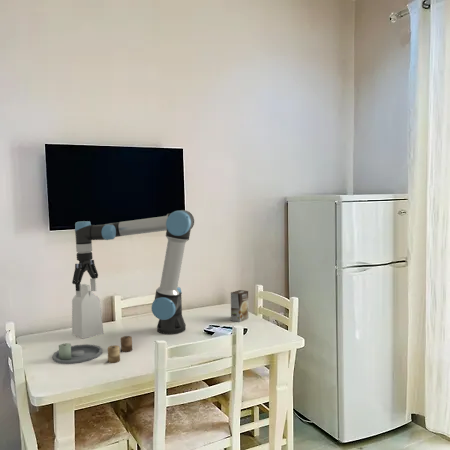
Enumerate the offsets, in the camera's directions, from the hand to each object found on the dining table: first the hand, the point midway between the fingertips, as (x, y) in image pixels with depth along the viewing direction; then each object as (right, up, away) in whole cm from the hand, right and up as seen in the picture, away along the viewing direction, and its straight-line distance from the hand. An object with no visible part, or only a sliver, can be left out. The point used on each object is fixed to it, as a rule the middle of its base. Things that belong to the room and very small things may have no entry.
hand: (86, 294), depth 215 cm
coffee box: (+78, -19, +29) cm, 86 cm away
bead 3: (+24, -23, -17) cm, 38 cm away
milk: (-2, -23, +9) cm, 24 cm away
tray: (+4, -24, -23) cm, 34 cm away
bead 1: (0, -24, -27) cm, 36 cm away
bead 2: (+22, -24, -30) cm, 44 cm away
